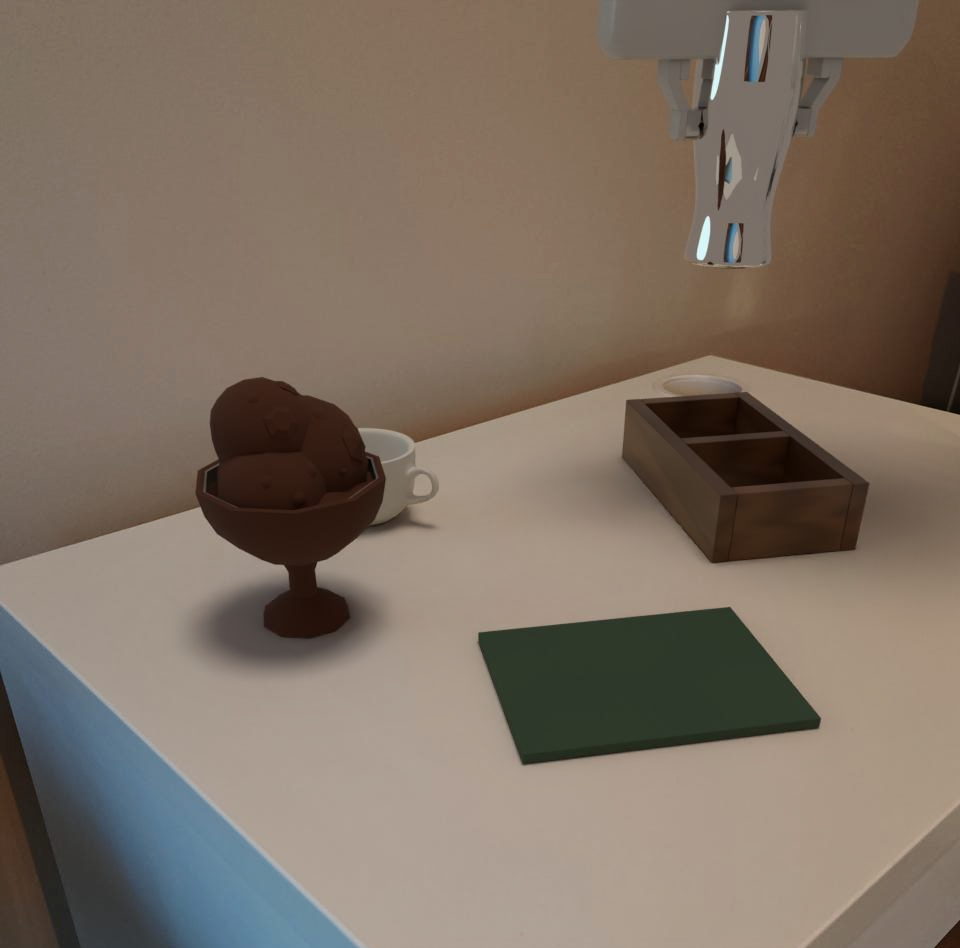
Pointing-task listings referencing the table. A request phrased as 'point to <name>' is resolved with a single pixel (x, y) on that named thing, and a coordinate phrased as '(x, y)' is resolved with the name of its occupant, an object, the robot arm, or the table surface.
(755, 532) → the divided wooden box
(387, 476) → the teacup
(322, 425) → the ice cream bowl
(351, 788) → the table surface
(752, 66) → the beer glass
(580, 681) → the mat
